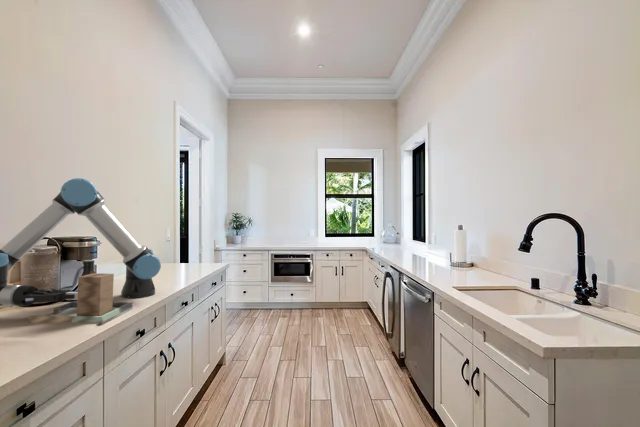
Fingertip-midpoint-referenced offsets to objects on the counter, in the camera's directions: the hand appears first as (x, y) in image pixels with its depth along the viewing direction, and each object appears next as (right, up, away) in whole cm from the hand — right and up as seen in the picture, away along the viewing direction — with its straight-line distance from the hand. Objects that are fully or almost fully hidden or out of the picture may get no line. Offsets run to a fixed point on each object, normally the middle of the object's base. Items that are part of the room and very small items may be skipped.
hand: (84, 295), depth 120 cm
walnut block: (+4, -8, 0) cm, 9 cm away
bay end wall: (+10, -9, 0) cm, 13 cm away
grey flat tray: (-2, -9, +4) cm, 10 cm away
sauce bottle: (-14, -9, +20) cm, 26 cm away
